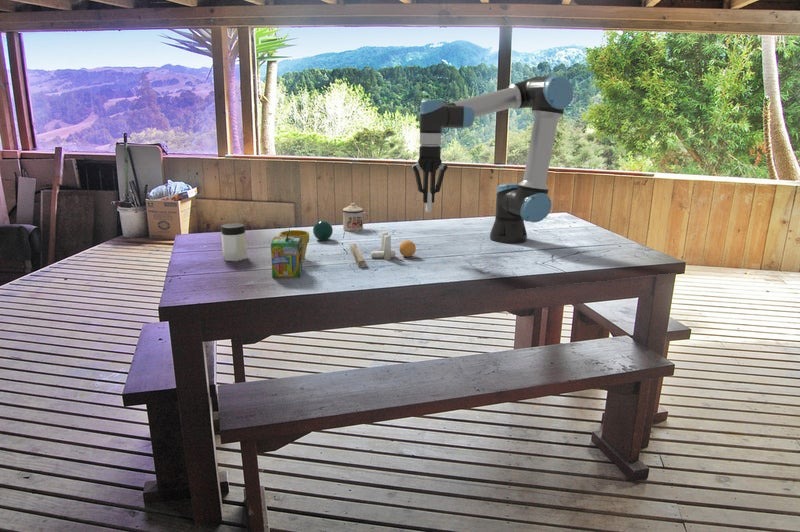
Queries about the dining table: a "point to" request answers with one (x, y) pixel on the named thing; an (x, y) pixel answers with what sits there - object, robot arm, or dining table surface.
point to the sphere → (322, 230)
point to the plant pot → (298, 234)
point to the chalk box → (286, 256)
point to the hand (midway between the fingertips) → (428, 211)
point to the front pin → (381, 254)
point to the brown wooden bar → (357, 255)
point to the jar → (233, 242)
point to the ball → (407, 248)
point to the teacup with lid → (353, 218)
